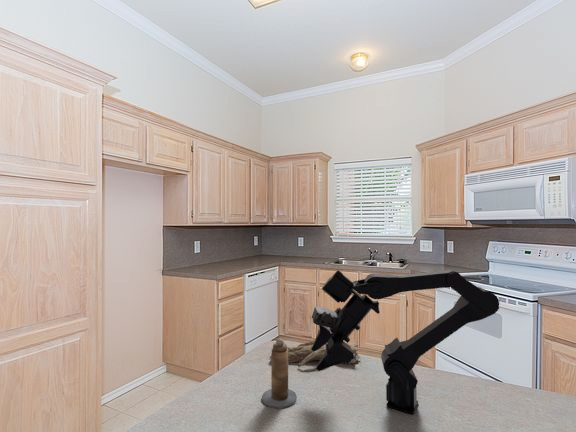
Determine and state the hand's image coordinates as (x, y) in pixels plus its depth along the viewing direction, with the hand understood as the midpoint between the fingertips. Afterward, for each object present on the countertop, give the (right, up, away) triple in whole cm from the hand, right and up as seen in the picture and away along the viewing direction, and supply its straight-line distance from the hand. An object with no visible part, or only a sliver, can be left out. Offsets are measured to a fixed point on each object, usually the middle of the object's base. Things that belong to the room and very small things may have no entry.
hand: (314, 359), depth 87 cm
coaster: (-9, -10, -1) cm, 14 cm away
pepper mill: (-9, -9, -1) cm, 13 cm away
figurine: (+2, -11, +25) cm, 27 cm away
